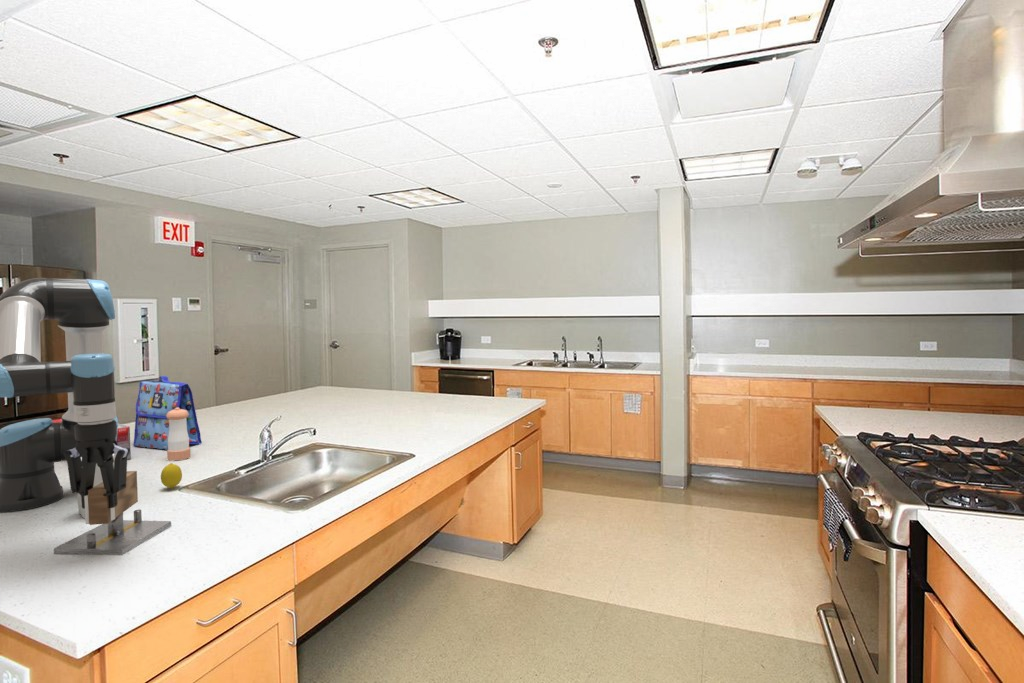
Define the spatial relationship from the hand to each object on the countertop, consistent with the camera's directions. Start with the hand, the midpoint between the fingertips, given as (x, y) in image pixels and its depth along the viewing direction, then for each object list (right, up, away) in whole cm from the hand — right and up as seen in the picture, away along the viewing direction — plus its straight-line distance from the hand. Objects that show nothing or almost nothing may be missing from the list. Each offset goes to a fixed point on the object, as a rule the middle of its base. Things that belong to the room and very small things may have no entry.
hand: (100, 521), depth 119 cm
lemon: (-11, -4, +41) cm, 42 cm away
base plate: (-1, -6, +6) cm, 8 cm away
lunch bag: (-46, -1, +92) cm, 103 cm away
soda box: (-66, -2, +77) cm, 102 cm away
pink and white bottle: (-29, -2, +73) cm, 79 cm away
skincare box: (-18, -5, +22) cm, 29 cm away
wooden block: (-1, 0, +5) cm, 5 cm away
